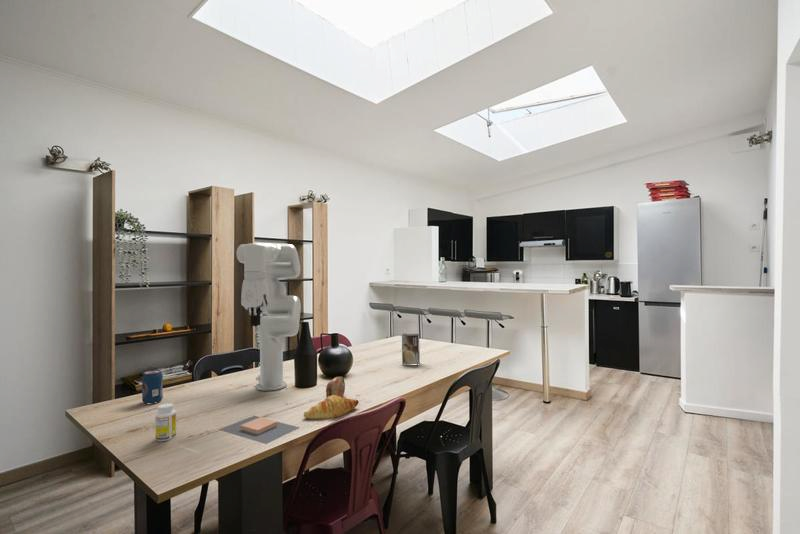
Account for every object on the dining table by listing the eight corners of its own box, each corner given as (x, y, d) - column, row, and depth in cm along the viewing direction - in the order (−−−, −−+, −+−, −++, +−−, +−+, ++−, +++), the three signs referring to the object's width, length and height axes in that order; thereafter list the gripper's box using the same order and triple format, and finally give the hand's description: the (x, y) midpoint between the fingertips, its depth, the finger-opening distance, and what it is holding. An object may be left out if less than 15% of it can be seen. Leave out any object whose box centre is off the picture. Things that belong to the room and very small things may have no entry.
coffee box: (420, 363, 221) (420, 333, 221) (418, 365, 215) (418, 335, 215) (403, 362, 223) (403, 333, 223) (401, 365, 216) (401, 335, 216)
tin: (332, 406, 153) (332, 384, 153) (324, 406, 154) (324, 384, 154) (345, 394, 168) (345, 374, 168) (338, 394, 169) (338, 373, 169)
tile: (240, 425, 131) (257, 430, 127) (260, 417, 138) (277, 421, 134) (240, 430, 131) (257, 435, 127) (260, 421, 138) (277, 426, 134)
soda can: (139, 402, 160) (139, 371, 160) (159, 398, 165) (159, 368, 165) (145, 406, 155) (145, 374, 155) (165, 401, 160) (165, 371, 160)
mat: (218, 430, 132) (218, 429, 132) (254, 416, 144) (254, 415, 144) (266, 444, 121) (266, 443, 121) (299, 428, 133) (299, 427, 133)
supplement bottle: (172, 433, 130) (171, 401, 130) (179, 437, 126) (179, 404, 126) (152, 438, 125) (152, 405, 125) (159, 443, 122) (159, 409, 122)
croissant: (307, 433, 137) (311, 415, 134) (297, 411, 145) (300, 394, 141) (361, 417, 150) (366, 401, 147) (349, 398, 157) (353, 383, 154)
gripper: (233, 276, 152) (233, 325, 152) (260, 276, 145) (261, 328, 145) (249, 276, 159) (250, 323, 159) (276, 276, 151) (277, 325, 151)
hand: (255, 325), depth 152 cm, fingers closed
